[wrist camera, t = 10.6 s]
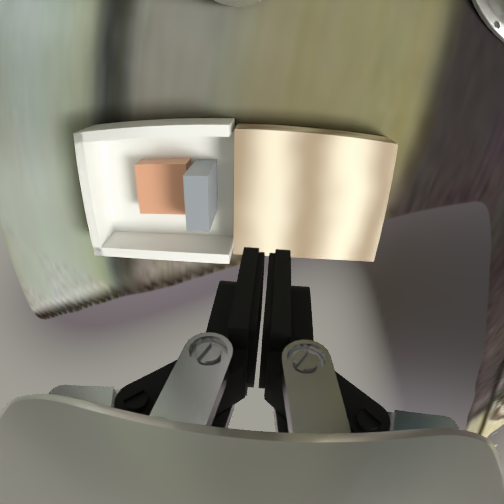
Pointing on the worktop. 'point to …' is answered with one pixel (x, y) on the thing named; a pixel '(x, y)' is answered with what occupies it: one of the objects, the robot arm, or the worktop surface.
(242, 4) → the plastic bottle
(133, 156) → the box
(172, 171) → the terracotta tile
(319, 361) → the robot arm
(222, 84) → the worktop surface
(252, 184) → the plate
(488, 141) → the worktop surface
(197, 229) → the slate tile
